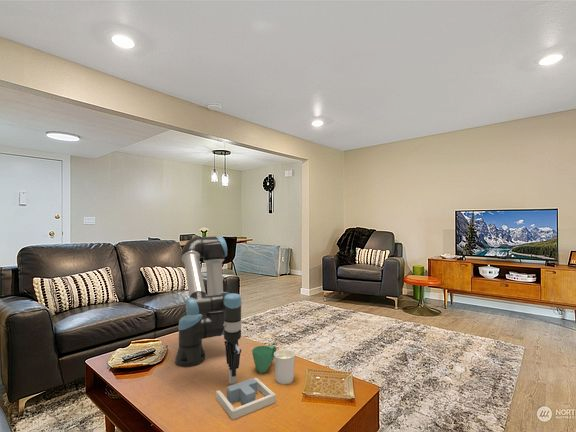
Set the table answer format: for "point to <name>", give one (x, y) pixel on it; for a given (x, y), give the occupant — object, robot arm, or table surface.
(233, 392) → the t block
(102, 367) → the table surface
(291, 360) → the candle holder
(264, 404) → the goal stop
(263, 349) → the mug
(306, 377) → the table surface
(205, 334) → the robot arm
